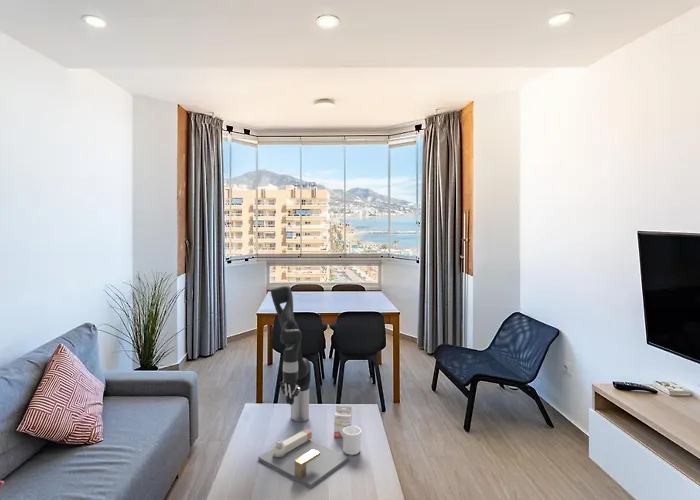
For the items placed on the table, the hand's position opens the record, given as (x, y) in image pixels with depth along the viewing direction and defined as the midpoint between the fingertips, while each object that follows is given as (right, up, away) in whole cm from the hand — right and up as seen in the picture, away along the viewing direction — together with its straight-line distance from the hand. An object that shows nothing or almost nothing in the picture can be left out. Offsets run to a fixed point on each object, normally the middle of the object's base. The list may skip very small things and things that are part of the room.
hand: (290, 403), depth 204 cm
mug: (+31, -20, -6) cm, 37 cm away
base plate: (+9, -20, -16) cm, 27 cm away
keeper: (+11, -21, -26) cm, 35 cm away
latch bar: (+2, -18, -8) cm, 19 cm away
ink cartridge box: (+26, -19, +7) cm, 33 cm away
